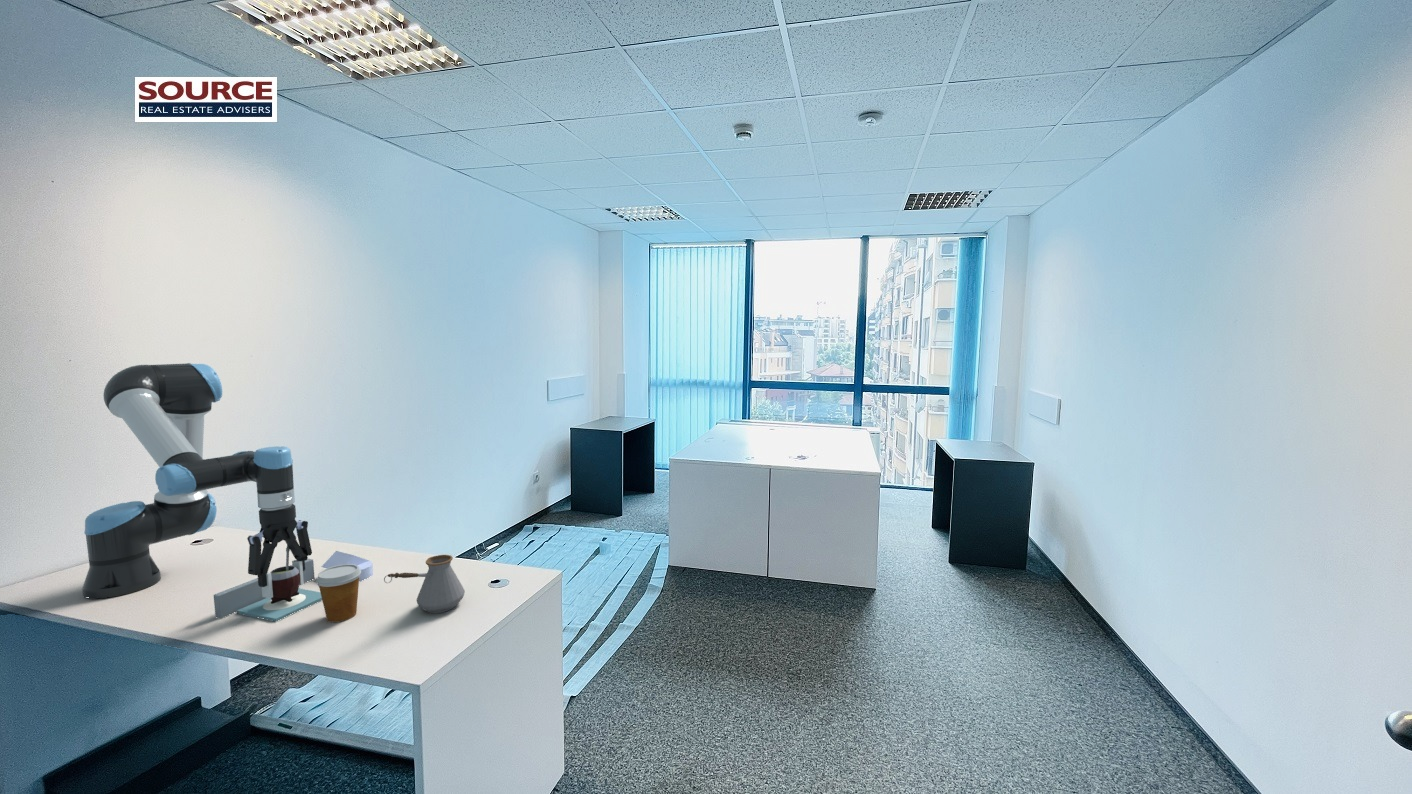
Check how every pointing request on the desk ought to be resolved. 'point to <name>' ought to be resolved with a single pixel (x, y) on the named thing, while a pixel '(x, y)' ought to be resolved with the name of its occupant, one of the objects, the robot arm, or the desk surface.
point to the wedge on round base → (345, 558)
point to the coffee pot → (437, 585)
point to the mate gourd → (285, 581)
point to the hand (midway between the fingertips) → (283, 590)
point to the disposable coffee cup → (339, 591)
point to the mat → (281, 606)
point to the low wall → (248, 594)
